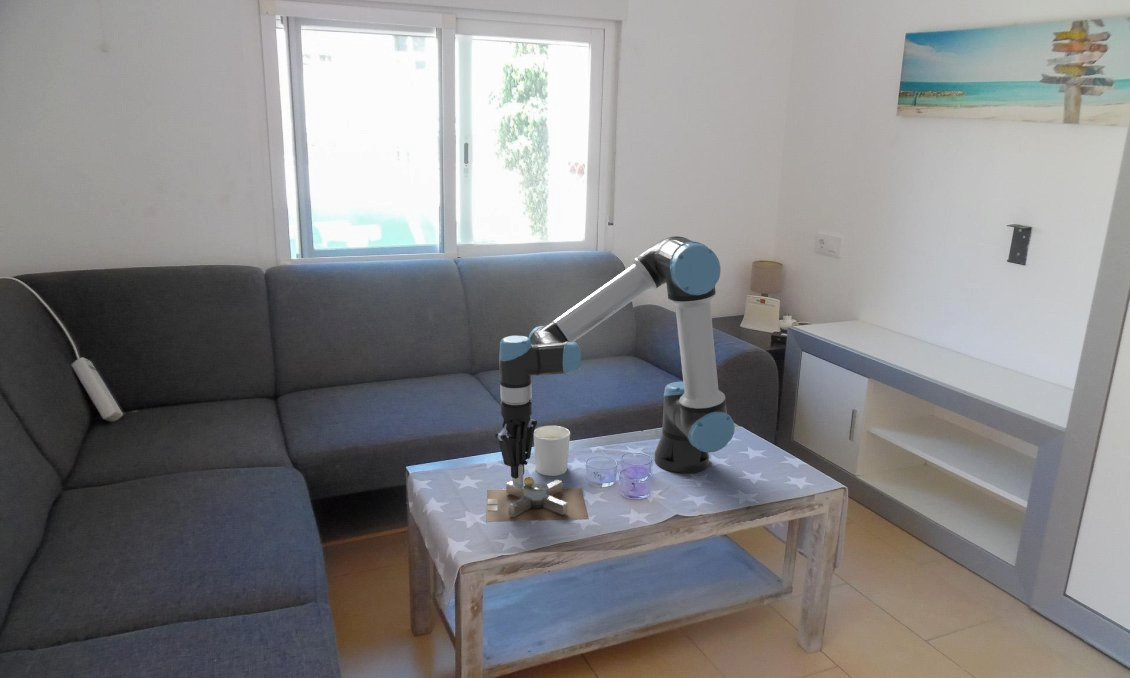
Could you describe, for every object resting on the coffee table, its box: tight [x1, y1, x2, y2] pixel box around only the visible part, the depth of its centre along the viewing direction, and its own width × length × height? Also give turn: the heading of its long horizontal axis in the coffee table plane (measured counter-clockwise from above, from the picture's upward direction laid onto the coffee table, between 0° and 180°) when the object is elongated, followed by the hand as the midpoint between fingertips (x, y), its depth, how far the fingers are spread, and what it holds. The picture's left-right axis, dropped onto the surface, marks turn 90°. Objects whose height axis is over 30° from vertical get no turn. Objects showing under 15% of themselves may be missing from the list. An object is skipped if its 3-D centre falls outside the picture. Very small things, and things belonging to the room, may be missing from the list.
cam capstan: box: [505, 476, 568, 517], centre depth 188 cm, size 18×18×6 cm
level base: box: [485, 487, 590, 523], centre depth 189 cm, size 24×16×2 cm, turn 95°
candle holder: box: [533, 425, 571, 477], centre depth 208 cm, size 10×10×12 cm
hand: (517, 488), depth 194 cm, fingers closed
